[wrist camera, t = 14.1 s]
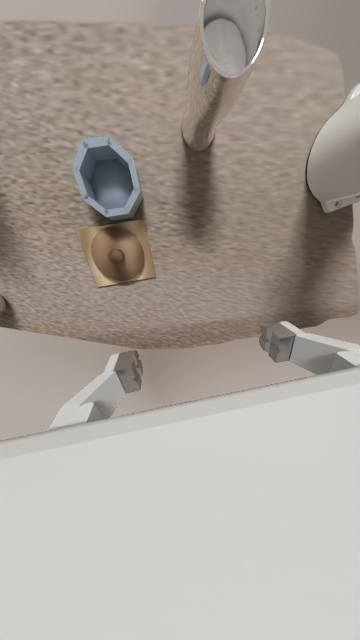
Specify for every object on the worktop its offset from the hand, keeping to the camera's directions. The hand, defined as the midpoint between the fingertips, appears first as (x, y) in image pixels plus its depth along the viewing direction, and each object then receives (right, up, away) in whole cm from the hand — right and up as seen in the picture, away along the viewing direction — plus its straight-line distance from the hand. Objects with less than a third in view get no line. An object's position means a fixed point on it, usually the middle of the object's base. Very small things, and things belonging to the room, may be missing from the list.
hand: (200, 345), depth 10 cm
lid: (-15, +16, +25) cm, 33 cm away
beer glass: (+2, +36, +17) cm, 40 cm away
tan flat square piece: (-15, +16, +25) cm, 33 cm away
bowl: (-14, +27, +20) cm, 36 cm away
